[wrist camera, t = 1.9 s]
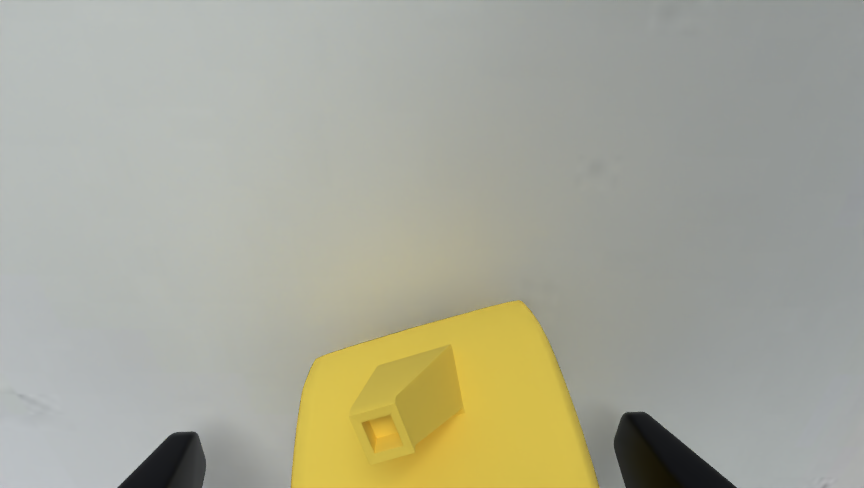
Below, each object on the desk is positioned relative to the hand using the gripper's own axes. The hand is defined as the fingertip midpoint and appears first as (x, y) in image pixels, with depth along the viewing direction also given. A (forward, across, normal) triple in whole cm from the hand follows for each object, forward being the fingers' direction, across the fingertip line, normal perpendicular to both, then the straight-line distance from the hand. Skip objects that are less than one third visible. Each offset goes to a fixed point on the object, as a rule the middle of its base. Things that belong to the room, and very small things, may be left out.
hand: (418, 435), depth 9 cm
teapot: (+1, 0, 0) cm, 1 cm away
